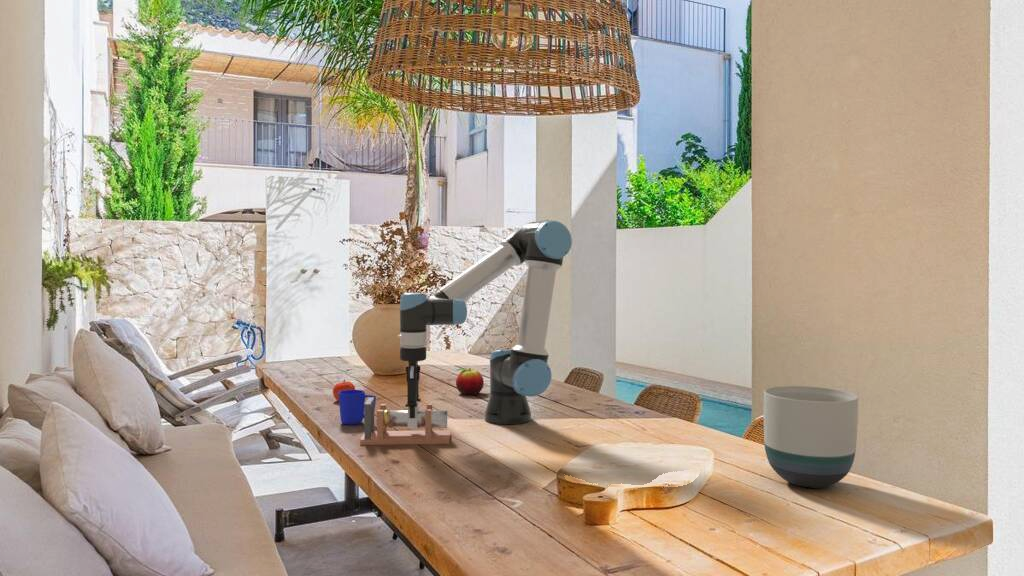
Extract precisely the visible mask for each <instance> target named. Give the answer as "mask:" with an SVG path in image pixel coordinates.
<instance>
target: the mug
mask: <svg viewBox="0 0 1024 576" xmlns="http://www.w3.org/2000/svg"><path fill="white" fill-rule="evenodd" d="M338 394H339V401H338V404H339V415H340V421H341V423H342V424H343V425H346V426H347V425H349V426H352V425H353V426H354V425H359V424H361V423H362V422H363V420H364V404H365V402H366V399H367V398H369V397H374V412H375V410H376V400H377V397H376V395H373V394H366V392H365V390H362V389H355V390H344V391H340V392H339V393H338Z"/></svg>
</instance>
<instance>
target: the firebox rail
mask: <svg viewBox="0 0 1024 576" xmlns="http://www.w3.org/2000/svg"><path fill="white" fill-rule="evenodd" d="M366 399H367V400H365V404H364V418H363V420H364V426H363V427H364V429H363V431H364V432H363V434H362V436H361V438H360V439H359V444H360V446H370V445H371V446H373V445H374V446H375V445H376V446H377V445H381V446H382V445H389V446H390V445H442V444H443V445H444V444H445V445H448V444H450V442H451V441H450V440H451V430H450V429H446V430H443V429H440V430H433V428H431V411H433V403H426V409H425V410H424V411H425V428H424V430H423V429H422V430H387V428H383V410H387V403H381V404H380V406H379V409H377V410H376V420H377V424H376V430H375V411H374V397H367V398H366Z"/></svg>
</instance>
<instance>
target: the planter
mask: <svg viewBox="0 0 1024 576" xmlns="http://www.w3.org/2000/svg"><path fill="white" fill-rule="evenodd" d="M858 414H859V396H858V395H856V394H855V393H852V392H850V391H845V390H841V389H835V388H828V387H822V386H821V387H820V386H810V385H809V386H806V385H781V386H780V385H779V386H772V387H768V388H765V389H764V390H763V441H764V442H763V443H764V450H765V455H766V459H767V461H768V463H769V466H770V467H771V468H772V469H773V471H774V472H775V473H776V474H777V475H778V476H779V477H781V478H782V479H783V480H784V481H786V482H788V483H789V484H792V485H795V486H797V485H798V487H801V486H803V487H802V488H807V487H810V489H821V488H823V489H824V488H827V487H831V486H833V485H836V484H837V483H839V482H840V481H842V480H843V479H844V478H845V477H846V476H847V475H848V474H849V473H850V471H851V469H852V466H853V464H854V461H855V457H856V452H857V451H856V450H857V438H858V422H859V418H858V417H859V415H858Z"/></svg>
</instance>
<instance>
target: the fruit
mask: <svg viewBox="0 0 1024 576" xmlns="http://www.w3.org/2000/svg"><path fill="white" fill-rule="evenodd" d="M456 371H460V372H459V374H458V375H457V377H456V379H455V385H456V389H457V391H458V392H459V393H460V394H462V395H465V396H474V395H478V394H480V393H481V391H482V389H483V387H484V382H485V381H484V378H483V375H482V374H481V373H480V372H479V370H476V369H471V368H468V369H467V368H461V367H460V368H457V369H456Z"/></svg>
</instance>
